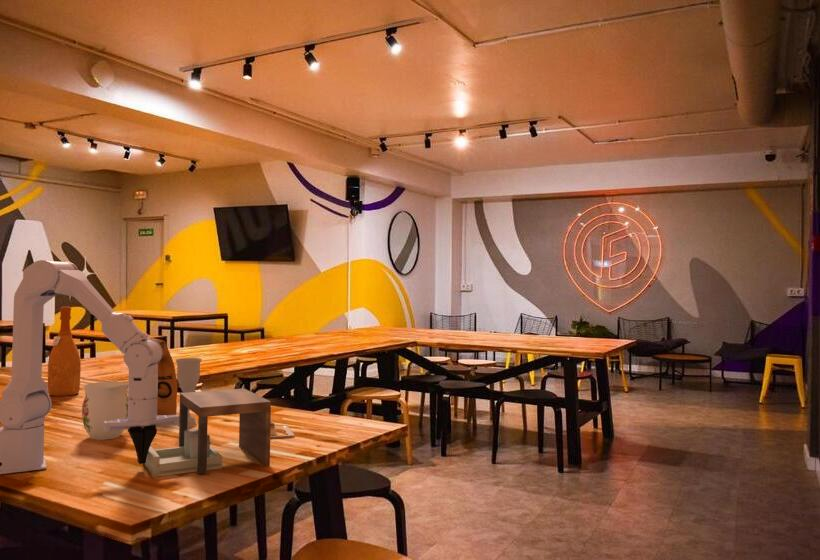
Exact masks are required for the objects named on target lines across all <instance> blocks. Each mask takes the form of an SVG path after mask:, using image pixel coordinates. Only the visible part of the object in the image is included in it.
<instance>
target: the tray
mask: <svg viewBox="0 0 820 560" xmlns="http://www.w3.org/2000/svg"><path fill="white" fill-rule="evenodd" d="M210 442H211V436H210V435H209V434H207V471H208V470H217V469H222V468H223V459H224V457H223V455H222V454H221V453H219V452H218V451H217V450H216V449H215V448H214V447H213V446H212V445H211V443H210ZM197 464H198V428H191V429H190V428H189V429H187V430H186V431H185V432H184V446H183V447H179V446H177V447H167V448H157V449H154V447H152V444H151V445H150V448H149V451H148V454H147V458H146V463H144V464H143V465H144V466H145V468H146V469H147V471H148V472H149V474H150V475H151V477H152V478H157V477H163V476H164V477H165V476H166V477H167V476H172V475H173V476H174V475H179V474H181V475H182V474H187V473H194V472H197Z"/></svg>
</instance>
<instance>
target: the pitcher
mask: <svg viewBox="0 0 820 560" xmlns="http://www.w3.org/2000/svg"><path fill="white" fill-rule="evenodd" d="M83 388H84V394H85V396H84V400H83V402H82V407H81V418H82V424H83V426H84V430H85V432H86V433H87V435H88V436H89V437H90V439H92V440H95V441H104V440H105V441H107V440H114V439H117V438H119V437H120V436H121V435H122V434H123V432H124V431H125V430H117V431H111V432H104V421H111V420H117V419H123V418H128V382H125V381H100V382H99V381H97V382H92V383H91V382H90V383H86V384H84V385H83Z"/></svg>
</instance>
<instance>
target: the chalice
mask: <svg viewBox="0 0 820 560" xmlns="http://www.w3.org/2000/svg"><path fill="white" fill-rule="evenodd" d="M175 362H176V366H177V367H176V379H177V383H178V386H179V387H180V389H181V392H182V393H187V392H195V389H196V387H197V385H198V383H199V380H200V377H201V362H202V358H200V357H198V358H197V357H184V358H177V359H175ZM190 411H191V410H190V409H189V408H188V424H187V428H191V427H196V426H198V423H197V421H196V418H195V416H193V415H191V413H190ZM177 426H178V427H179V425H177Z"/></svg>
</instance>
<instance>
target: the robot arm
mask: <svg viewBox="0 0 820 560" xmlns="http://www.w3.org/2000/svg"><path fill="white" fill-rule="evenodd" d="M22 272H23V273H22V279H21V281H20V283H19V285H18V287H17V289H16V291H15V292H14V295H13V317H12V318H13V321H12V349H11V350H12V351H11V380H10V381H9V382H8V384H7V385H6V386H5V387H4V388H3V390H2V391H1V398H0V399H1V400H0V423H1V424H2V426H1V427H0V475H6V474H14V473H22V472H31V471H40V470H41V471H42V470H46V469H47V462H46V461H47V460H46V458H45V457H44V455H45V422H46V416H47V415H49V414H50V411H51V409H52V405H53V403H52V399H51V396H50V394H49V393H48V383H47V382H46V381H45V380H44V379H43V377H42V373H43V345H44V344H43V341H44V340H43V339H44V338H43V337H44V311H45V310H44V308H45V304H46V303H48V302H49V301H50V300H52V299H53V298H54V297H56V296H57V295H59V294H60V295H64V296H68V297H72V298H73V297H74V298H75V299H76V301H78V302H79V303H80V304H81V305H82V306H83V308H85V309H86V310H87V311H88V312H89V313H91V315H93V316H94V317H95V319H96V320H98V321H99V322H100V323H101V328H100V329H101V332H102V334H103V335H105V337H106V338H107V339H109V340H108V341H110V342H111V343H112V345H114V346H115V347H116V348H117V349H118V350H119V351H120V352H121V353H122V354H123V357H122V359H123V362H124V364H125V365H126V367H127V369H128V382H127V383H128V390H127V396H128V418H123V419H117V420H111V421H104V432H111V431H117V430H124V431H127V432H128V434H129V436H130V439H131V440H132V443H133V445H134V449H135V452H136V457H137V458H136V459H137V463H138V464H139V465H144V463H146V458H147V454H148V451H149V448H150V445H151V446H152V443H153V441H154V440H155V437H156V435H157V433H158V428H157V427H165V426H178V425H179V414H176V415H157V397H158V364H157V363H158V362H159V361H160V360H161V358H162V354H163V351H162V347H161V346H160V344H159V342H158V341H157V340H155V339H156V338H154V339H152V338H150V337H149V334H148V333H146V332H143V331H142V330H141V329H140V328H139V327H138V326H137V324H136V323H134V322H133V321H134V319H135V318H133V316H132V315H130V314H128V315H127V314H126V313H125V312H116V311H115V310H114V309H113V308H112V307H111V305H110V304H109V303H108V302H107V301H106V299H105V298H104V297H103V296H102V295H101V294H100V293H99V292H98V290H97V289H96V288H95V287H94V286H93V285H92V283H91V282H90V281H89V279H88V278H87V276H86V274H85V273H84V272H83V271H81V270H79V269H78V267H77V265H76V264H74V263H72V262H71V261H67V260H66V261H64V260H63V261H52V260H51V261H50V260H45V259H40V260H37V261H33V262H32V263H31V264H30V265H28V266H27V267H25V268H24V269H23V271H22Z"/></svg>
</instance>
